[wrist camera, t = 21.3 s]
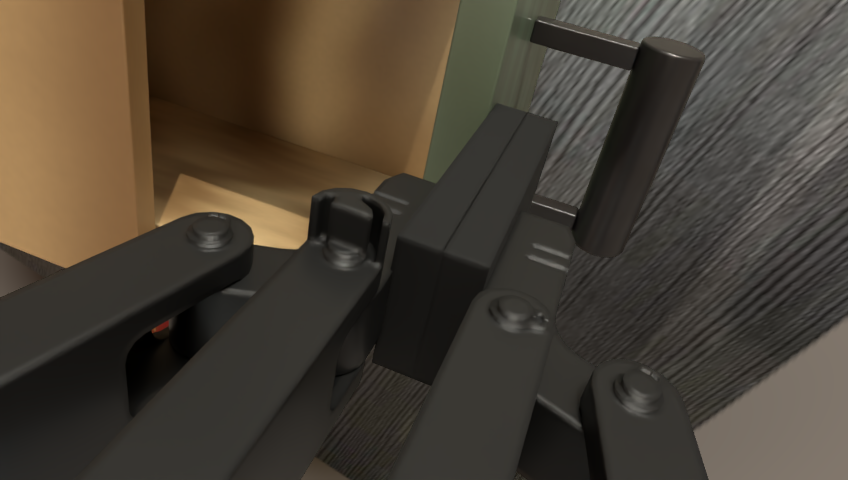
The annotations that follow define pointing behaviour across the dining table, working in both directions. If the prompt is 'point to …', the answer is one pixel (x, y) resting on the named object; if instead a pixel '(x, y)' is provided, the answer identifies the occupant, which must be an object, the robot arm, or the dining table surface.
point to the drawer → (380, 103)
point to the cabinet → (74, 127)
